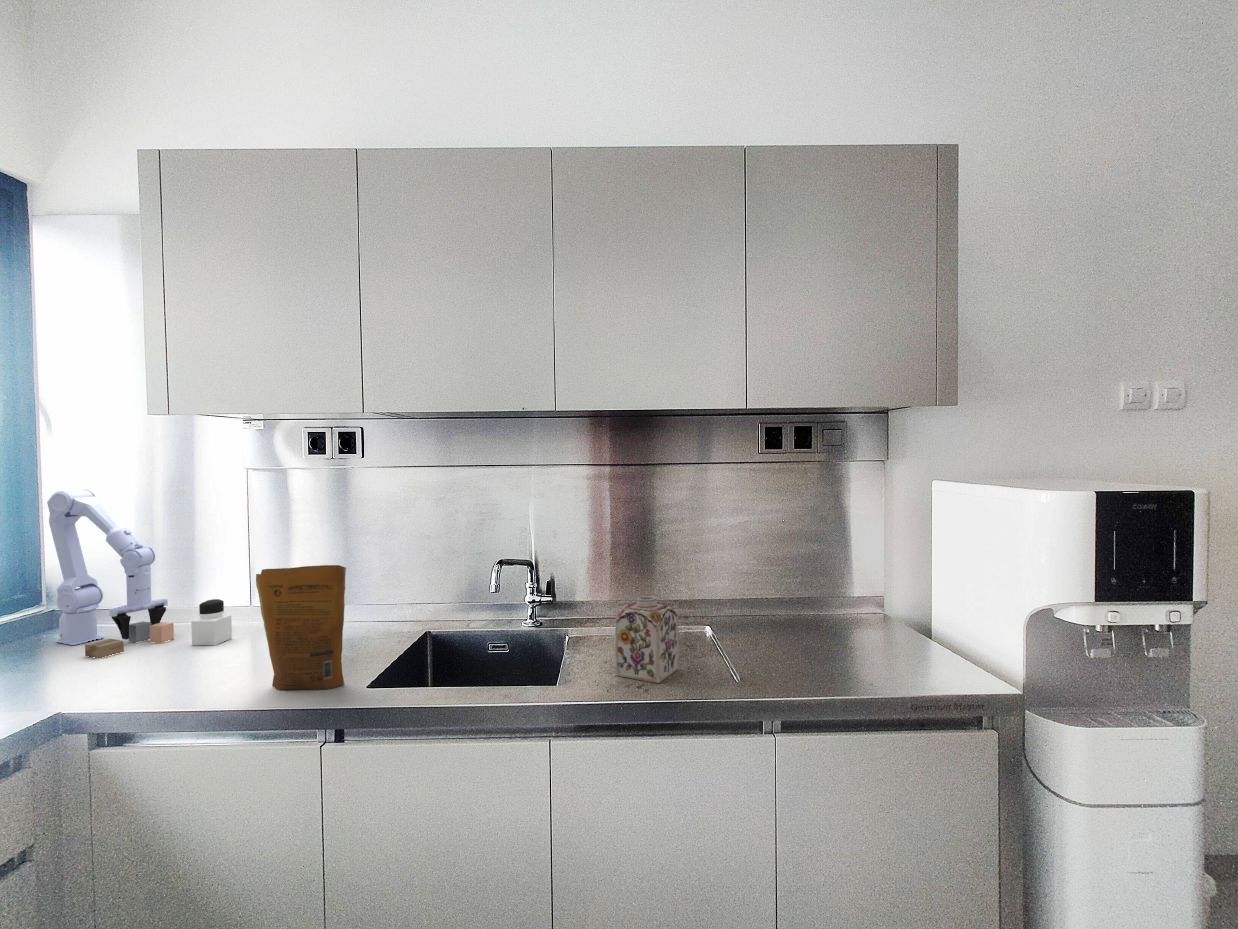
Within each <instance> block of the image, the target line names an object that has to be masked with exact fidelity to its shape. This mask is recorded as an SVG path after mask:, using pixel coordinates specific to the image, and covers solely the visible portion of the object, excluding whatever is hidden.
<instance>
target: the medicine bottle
mask: <svg viewBox="0 0 1238 929" xmlns="http://www.w3.org/2000/svg"><path fill="white" fill-rule="evenodd" d="M224 605H225V604H224V600H222V599H218V598H217V599H216V598H215V599H214V598H212V599H207V600H203V601H201V602H199V603H198V616H199V617H198V618H197V617H196V618H195V619H191V624H190V625H191V645H192V646H217V645H219V643H220V644H223V642H224V641H225V642H227V641H230V640H231V639H232V638H233V637H232V636H233V634H232V633H233V632H232V631H233V630H232V629H233V628H232V626H233V625H232V615H231V614H224V613H225V609H224V608H225V606H224ZM226 640H227V641H226ZM225 642H224V643H225Z"/></svg>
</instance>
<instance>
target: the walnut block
mask: <svg viewBox="0 0 1238 929" xmlns="http://www.w3.org/2000/svg"><path fill="white" fill-rule="evenodd" d="M124 645H125V642H124V639H122V640H121V639H114V638H106V639H101V640H97V641H93V642H91V643H90V642H89V643H86V644H85V643H84V654H85V656H89V657H88V658H90V657H95V658H94V659H96V658H101V659H103V658H102V657H105V656H109V655H112V654H116V653H120V652H124V653H125V646H124ZM120 654H121V653H120ZM116 655H117V654H116ZM109 657H110V656H109ZM105 658H106V657H105Z"/></svg>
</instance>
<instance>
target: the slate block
mask: <svg viewBox="0 0 1238 929" xmlns="http://www.w3.org/2000/svg"><path fill="white" fill-rule="evenodd" d="M150 626H151V622H150V621H146V620H145V621H143V620H142V621H139V622H134V623H133V622H132V623H129V639H128V642H129V641H134V642H139V641H143V642H145V641H144V640H147V641H149V640H148V639H150ZM134 642H133V643H134ZM139 643H140V642H139Z"/></svg>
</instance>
